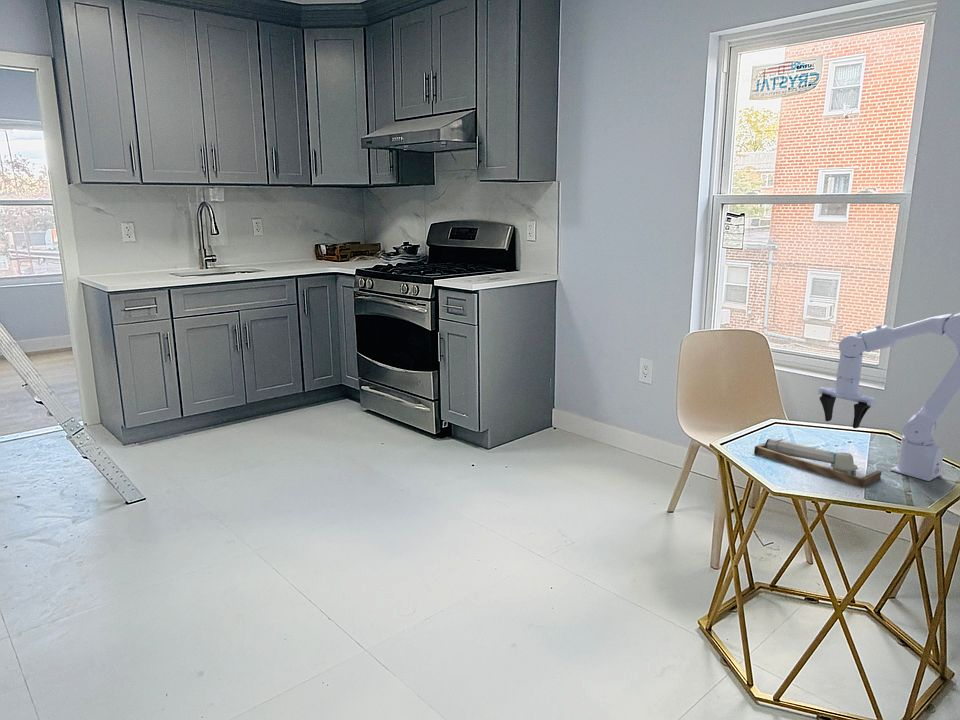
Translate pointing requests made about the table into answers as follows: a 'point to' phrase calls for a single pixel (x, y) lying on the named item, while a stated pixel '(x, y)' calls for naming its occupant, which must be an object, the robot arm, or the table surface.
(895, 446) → the table surface
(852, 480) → the walnut bay
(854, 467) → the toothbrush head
